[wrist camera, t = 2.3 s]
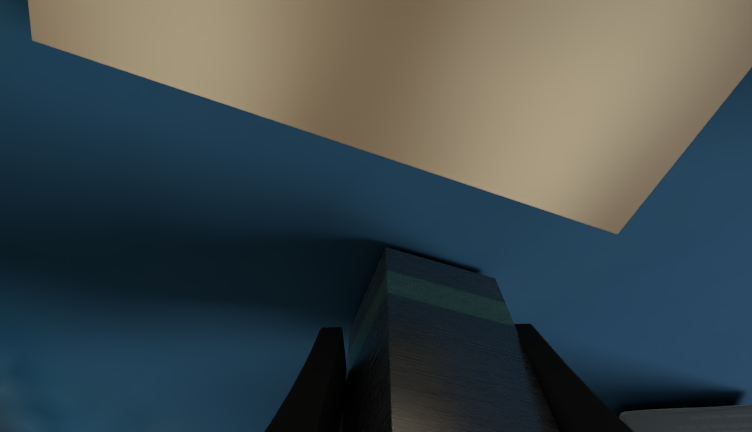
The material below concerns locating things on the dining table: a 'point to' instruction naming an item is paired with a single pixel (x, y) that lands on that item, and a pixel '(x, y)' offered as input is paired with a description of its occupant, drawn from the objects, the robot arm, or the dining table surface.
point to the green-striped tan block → (449, 80)
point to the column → (438, 355)
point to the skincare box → (691, 419)
